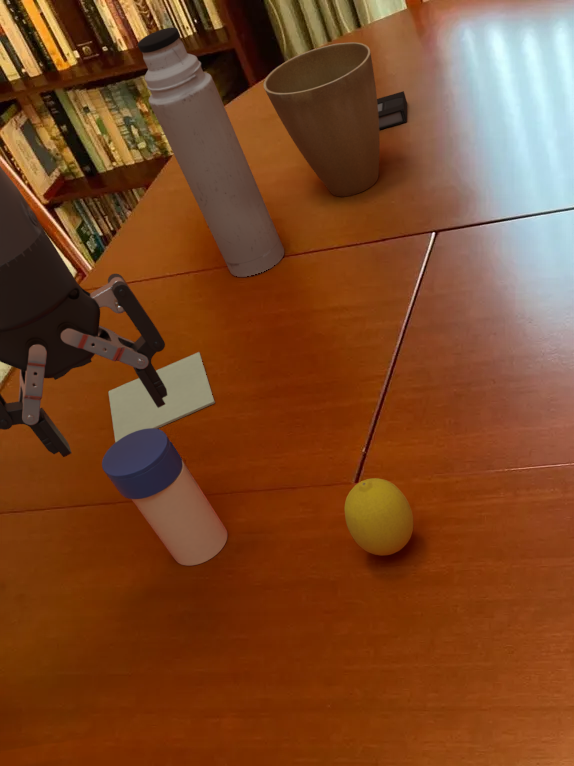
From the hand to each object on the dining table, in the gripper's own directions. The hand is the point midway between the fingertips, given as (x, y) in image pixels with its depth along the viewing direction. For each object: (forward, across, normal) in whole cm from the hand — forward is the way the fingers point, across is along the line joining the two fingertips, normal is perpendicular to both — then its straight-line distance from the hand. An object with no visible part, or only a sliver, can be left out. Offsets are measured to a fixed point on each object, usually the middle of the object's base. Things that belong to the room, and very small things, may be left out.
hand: (113, 426), depth 73 cm
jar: (+15, 0, 0) cm, 15 cm away
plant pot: (+15, -42, -58) cm, 73 cm away
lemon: (+15, -15, +14) cm, 25 cm away
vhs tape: (+15, -52, -77) cm, 94 cm away
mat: (+15, -3, -29) cm, 32 cm away
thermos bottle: (+15, -23, -50) cm, 57 cm away
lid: (+3, 0, 0) cm, 3 cm away
